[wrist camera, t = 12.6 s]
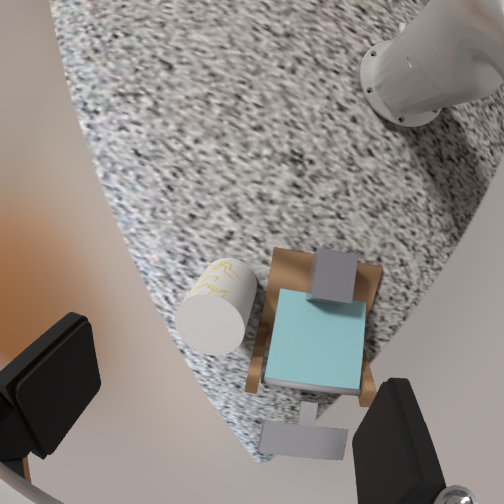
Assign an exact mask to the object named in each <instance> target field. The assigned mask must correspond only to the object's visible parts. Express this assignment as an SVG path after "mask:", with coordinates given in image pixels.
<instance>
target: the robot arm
mask: <svg viewBox="0 0 504 504" xmlns="http://www.w3.org/2000/svg"><path fill="white" fill-rule="evenodd" d="M371 54H373V55H374V57H373V56H371ZM359 79H360V85H361V89H362V92H363V94H364V96H365V98H366V100H367V101H368V103H369V104H370V106H371V107H372V108H373V109H374V110H375V111H376V112H377V114H379V115H380V116H381V117H383V118H384V119H385V120H387V121H389V122H391V123H393V124H396V125H399V126H404V127H417V126H422V125H425V124H427V123H429V122H431V121H432V120H434V119H435V118H436V117H437V116H438V115H439V113H440V111H441V109H442V108H445V107H449V106H453V105H457V104H461V103H465V102H470V101H474V100H478V99H482V98H485V97H488V96H489V95H491V94H492V93H494V92H495V91H496V90H497V89H498V88H499V86H500V85H501V84H502V82H503V81H504V0H430V1H429V3H428V4H427V5H426V6H425V7H424V8H423V9H422V10H421V12H420V13H419V14H418V15H417V16H416V17H415V18H414V19H413V20H412V21H411V22H410V24H409V25H408V24H406V23H399V35H398V36H396V37H395V38H394V39H393V40H387V41H382V42H380V43H378V44H376V45H374V46H373V47H372V48H370V49H369V51H368V52H367V53H366V54H365V56H364V58H363V59H362V62H361V65H360V71H359ZM367 90H369V91H370V93H368V92H367ZM432 111H433V112H432ZM399 118H400V119H401V121H399ZM100 386H101V379H100V374H99V369H98V364H97V358H96V353H95V347H94V341H93V334H92V327H91V324H90V323H89V322H88V319H87V317H85V316H83V315H80V314H76V313H74V312H70V313H68V314H67V315H66V316H64V317H63V318H62V319H61V320H60V321H58V322H57V323H56V324H55V325H53V326H52V327H51V328H50V329H49V330H47V331H46V332H45V333H44V334H43V335H41V336H40V337H39V338H38V339H37V340H35V341H34V342H33V343H32V344H31V345H30V346H29V347H27V348H26V349H25V350H24V351H23V352H22V353H20V354H19V355H18V356H17V357H16V358H15V359H14V360H13V361H11V363H9V364H8V365H7V366H6V367H5V368H4V369H3V370H2V371H0V504H64V503H62V502H60V501H59V500H57V499H55V498H53V497H52V496H50V495H48V494H47V493H45V492H43V491H42V490H40V489H39V488H37V487H35V486H34V485H32V484H31V478H30V473H29V465H28V458H27V455H28V454H29V453H30V451H31V452H32V453H33V454H35V455H37V456H38V457H40V458H41V459H43V460H44V459H45V457H46V456H47V455H51V454H52V453H53V452H54V451H55V449H56V448H57V447H58V445H59V444H60V442H61V441H62V440H63V438H64V437H65V436H66V434H67V433H68V431H69V430H70V429H71V427H72V426H73V425H74V423H75V422H76V420H77V419H78V418H79V416H80V415H81V414H82V412H83V411H84V410H85V408H86V407H87V406H88V404H89V403H90V402H91V400H92V399H93V397H94V396H95V395H96V394H97V392H98V391H99V389H100ZM352 447H353V456H354V465H355V474H356V485H357V496H358V504H477V500H476V498H475V495H474V494H473V493H472V492H471V491H470V490H469V489H467V488H465V487H462V486H457V485H453V486H450V487H446V484H445V480H444V477H443V473H442V470H441V467H440V464H439V461H438V458H437V455H436V452H435V448H434V446H433V442H432V440H431V437H430V434H429V431H428V428H427V425H426V423H425V421H424V419H423V416H422V413H421V411H420V408H419V405H418V403H417V400H416V397H415V395H414V392H413V390H412V387H411V385H410V382H409V381H408V379H406V378H389V379H388V381H387V382H383V383H382V384H381V386H380V388H379V390H378V392H377V394H376V396H375V398H374V400H373V402H372V404H371V406H370V408H369V410H368V411H367V413H366V415H365V417H364V419H363V420H362V422H361V424H360V426H359V428H358V429H357V431H356V433H355V435H354V437H353V441H352Z"/></svg>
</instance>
